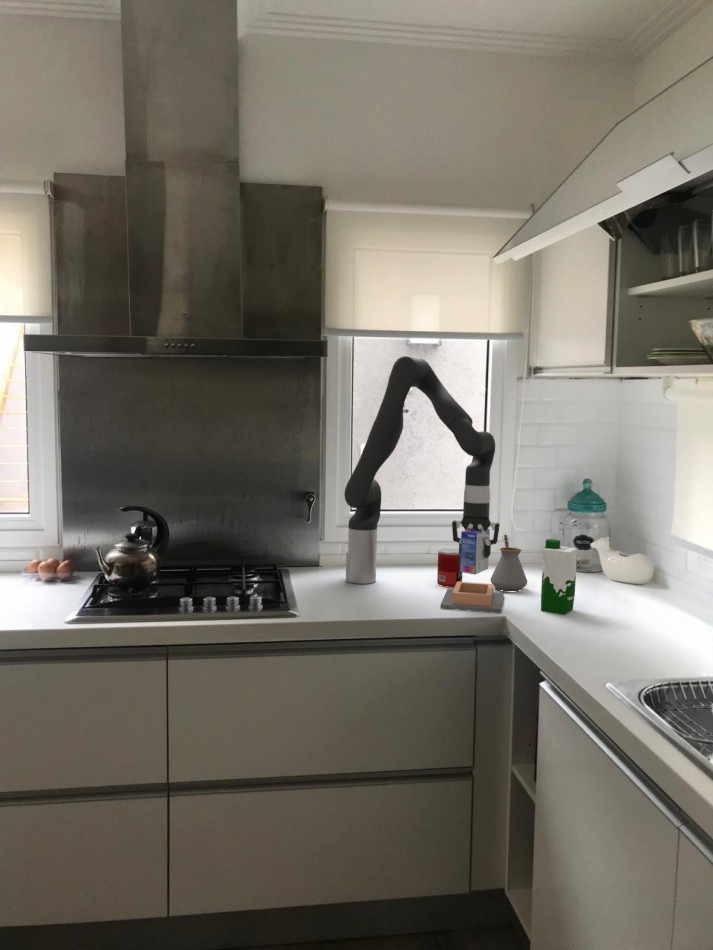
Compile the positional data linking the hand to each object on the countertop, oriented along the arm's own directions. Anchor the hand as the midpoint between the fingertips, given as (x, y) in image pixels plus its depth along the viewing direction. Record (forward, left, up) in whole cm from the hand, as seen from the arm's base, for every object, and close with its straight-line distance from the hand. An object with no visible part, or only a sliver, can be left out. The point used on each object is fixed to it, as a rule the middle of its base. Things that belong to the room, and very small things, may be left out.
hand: (474, 556), depth 243 cm
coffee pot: (+9, +25, -14) cm, 30 cm away
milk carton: (+24, -2, -14) cm, 28 cm away
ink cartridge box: (0, 0, -4) cm, 4 cm away
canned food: (-9, +21, -14) cm, 27 cm away
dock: (0, 0, -14) cm, 14 cm away
